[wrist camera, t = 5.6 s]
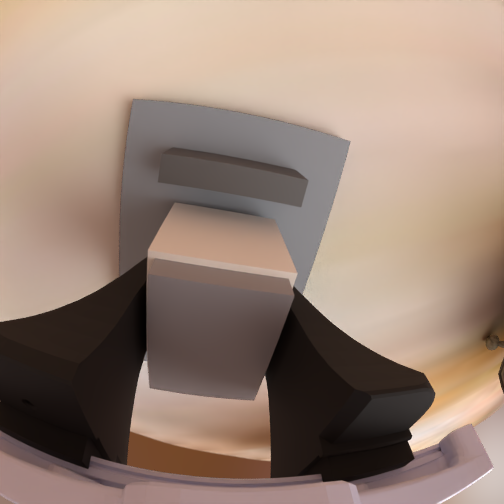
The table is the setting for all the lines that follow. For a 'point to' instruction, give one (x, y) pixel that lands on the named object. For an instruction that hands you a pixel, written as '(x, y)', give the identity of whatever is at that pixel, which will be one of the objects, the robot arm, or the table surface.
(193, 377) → the connector plug
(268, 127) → the board
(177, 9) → the table surface
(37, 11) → the table surface
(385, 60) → the table surface
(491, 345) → the tabletop clock
